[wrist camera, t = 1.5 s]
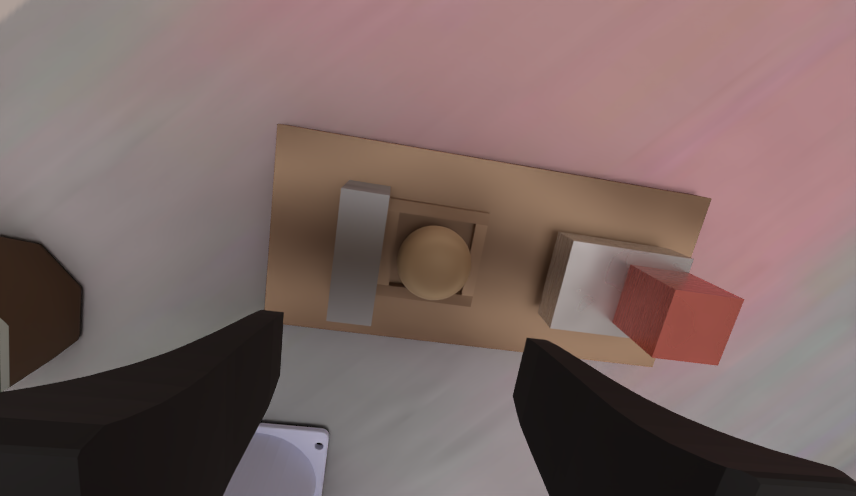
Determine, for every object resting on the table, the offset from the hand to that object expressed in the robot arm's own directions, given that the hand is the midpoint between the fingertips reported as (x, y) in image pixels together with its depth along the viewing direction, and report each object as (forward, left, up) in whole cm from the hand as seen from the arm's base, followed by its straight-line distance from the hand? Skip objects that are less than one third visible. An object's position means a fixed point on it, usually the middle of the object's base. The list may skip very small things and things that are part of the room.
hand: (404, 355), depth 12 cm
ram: (+1, -10, -8) cm, 13 cm away
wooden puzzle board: (+1, -4, -11) cm, 11 cm away
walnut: (+1, -1, -9) cm, 9 cm away
